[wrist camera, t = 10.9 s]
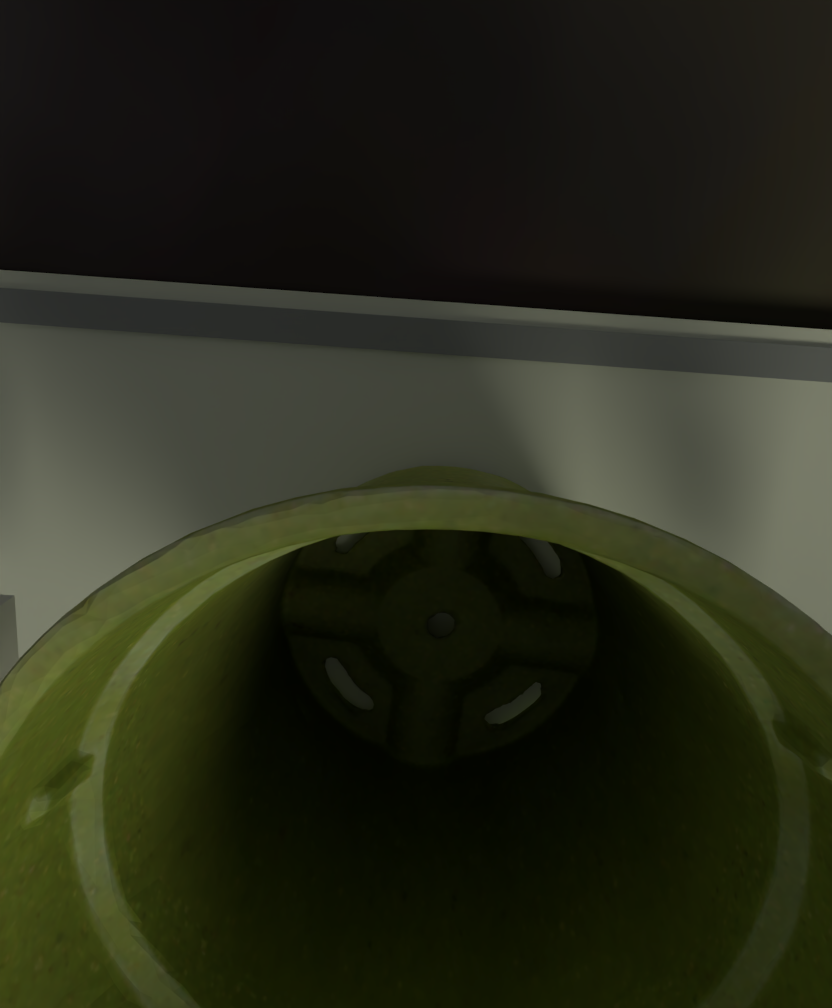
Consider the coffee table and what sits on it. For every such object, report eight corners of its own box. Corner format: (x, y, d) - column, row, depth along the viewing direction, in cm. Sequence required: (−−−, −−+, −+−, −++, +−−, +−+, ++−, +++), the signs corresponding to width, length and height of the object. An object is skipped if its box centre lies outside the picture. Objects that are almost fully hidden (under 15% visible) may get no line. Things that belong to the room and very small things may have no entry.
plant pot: (411, 901, 17) (388, 1474, 9) (98, 588, 16) (-294, 929, 7) (774, 646, 16) (1170, 1057, 7) (467, 264, 14) (514, 218, 6)
